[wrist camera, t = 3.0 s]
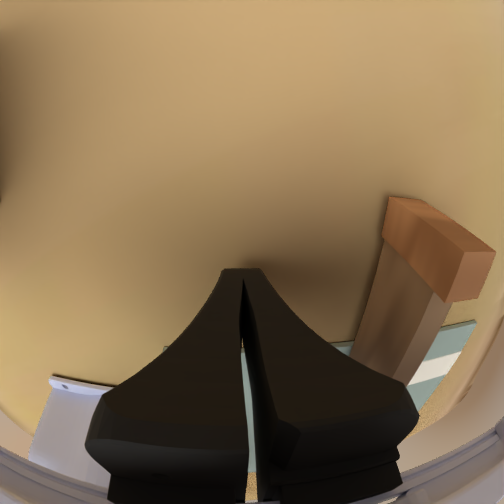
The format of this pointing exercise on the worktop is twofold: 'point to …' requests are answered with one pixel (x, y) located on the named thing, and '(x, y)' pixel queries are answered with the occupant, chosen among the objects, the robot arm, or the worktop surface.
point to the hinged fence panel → (417, 286)
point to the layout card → (419, 387)
